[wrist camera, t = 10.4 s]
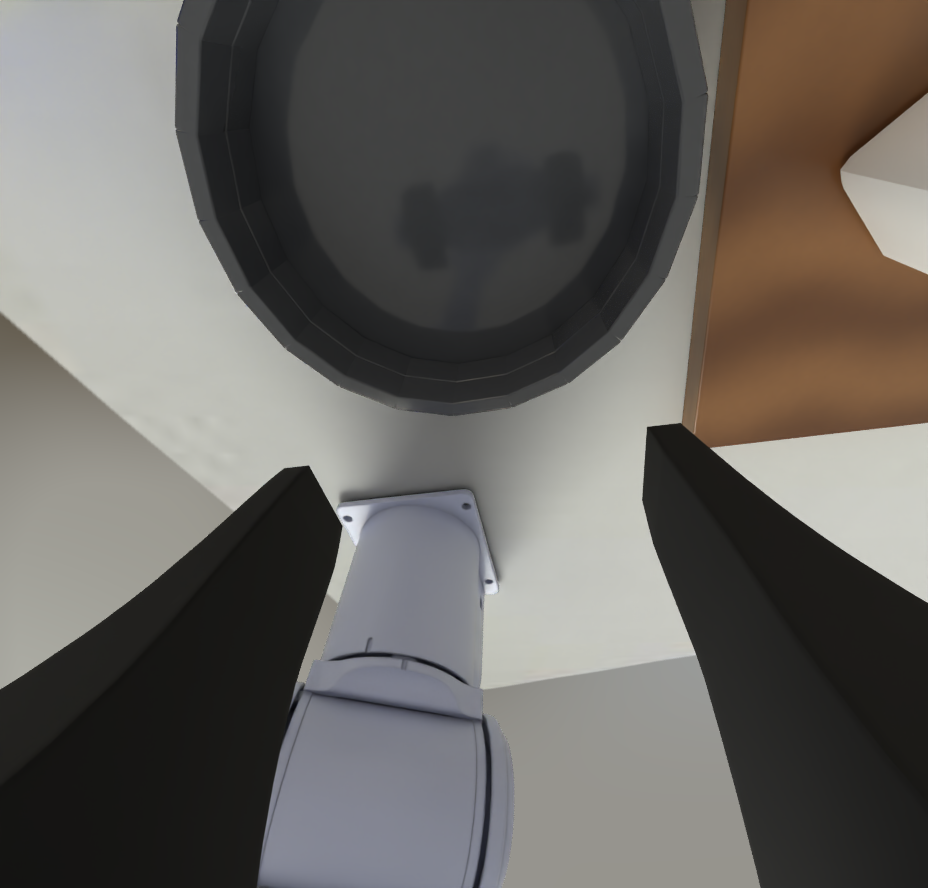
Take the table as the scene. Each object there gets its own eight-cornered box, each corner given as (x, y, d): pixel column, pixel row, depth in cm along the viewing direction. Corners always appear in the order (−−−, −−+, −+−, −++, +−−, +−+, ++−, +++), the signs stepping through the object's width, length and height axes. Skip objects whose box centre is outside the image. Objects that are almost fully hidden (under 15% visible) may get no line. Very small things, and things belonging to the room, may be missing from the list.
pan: (654, 341, 18) (681, 384, 16) (336, 391, 21) (311, 436, 18) (683, -247, 10) (754, -378, 7) (142, -38, 12) (39, -76, 10)
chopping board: (954, 396, 19) (984, 417, 18) (680, 430, 21) (691, 450, 20) (1528, -668, 7) (1739, -823, 6) (761, -352, 9) (800, -418, 8)
